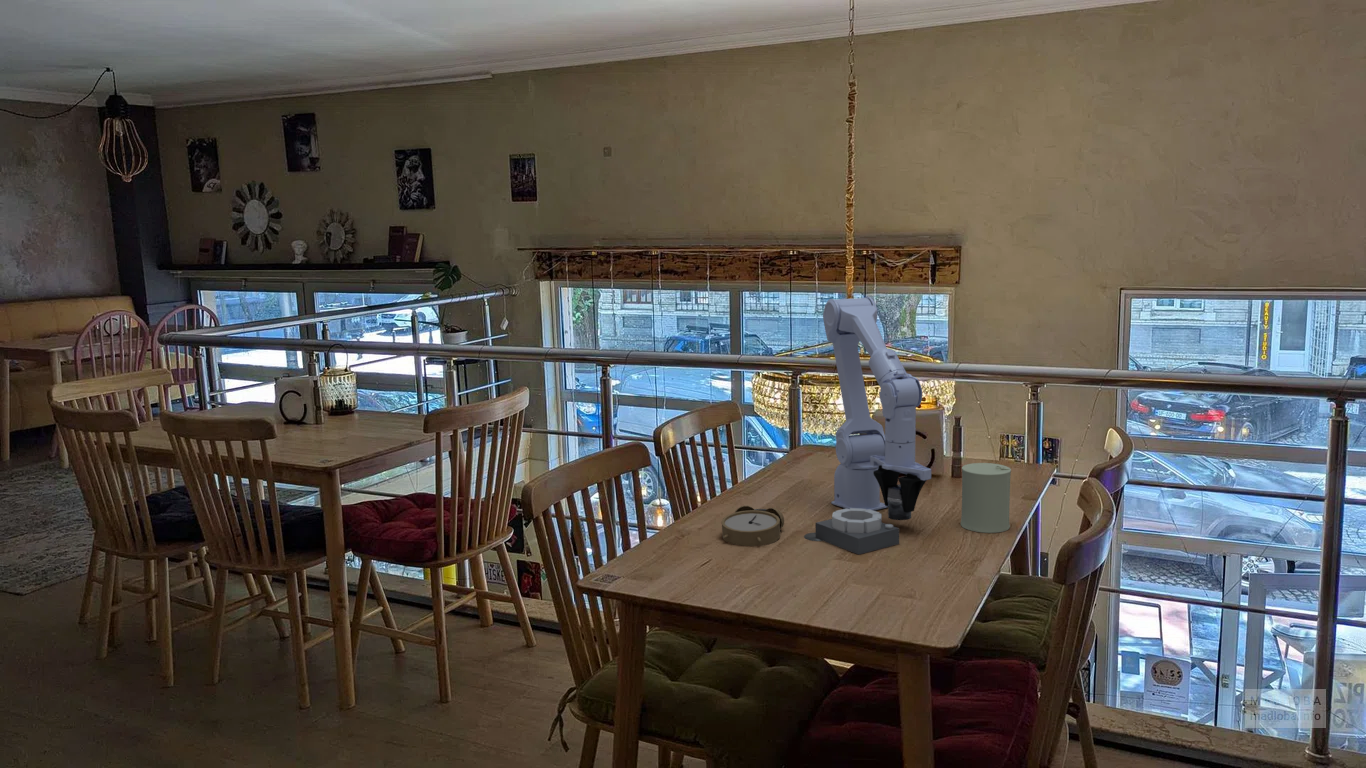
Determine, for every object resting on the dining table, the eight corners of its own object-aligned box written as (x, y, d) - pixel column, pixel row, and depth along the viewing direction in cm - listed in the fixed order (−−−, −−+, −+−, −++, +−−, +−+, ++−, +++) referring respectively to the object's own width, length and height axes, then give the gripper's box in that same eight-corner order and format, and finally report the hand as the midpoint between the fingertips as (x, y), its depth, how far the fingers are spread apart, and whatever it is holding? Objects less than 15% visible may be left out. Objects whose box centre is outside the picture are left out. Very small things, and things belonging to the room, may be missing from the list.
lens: (882, 516, 190) (882, 486, 189) (899, 512, 192) (899, 482, 191) (899, 521, 186) (899, 490, 185) (916, 517, 188) (916, 486, 188)
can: (1012, 534, 184) (1014, 472, 182) (962, 532, 186) (963, 471, 184) (1006, 519, 193) (1008, 460, 191) (958, 518, 195) (959, 459, 193)
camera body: (815, 537, 185) (815, 512, 184) (855, 528, 190) (855, 503, 189) (858, 554, 175) (858, 527, 174) (899, 543, 180) (899, 517, 179)
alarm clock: (712, 529, 183) (737, 495, 196) (714, 552, 184) (739, 517, 197) (769, 535, 179) (791, 499, 192) (771, 558, 180) (792, 522, 193)
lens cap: (798, 539, 186) (798, 535, 186) (819, 534, 189) (819, 530, 189) (815, 546, 182) (815, 542, 182) (837, 541, 185) (837, 537, 185)
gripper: (858, 436, 191) (858, 503, 193) (912, 450, 178) (911, 521, 181) (885, 431, 194) (884, 497, 197) (939, 444, 182) (938, 514, 184)
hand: (899, 508), depth 189 cm, fingers closed on lens, 5 cm apart
